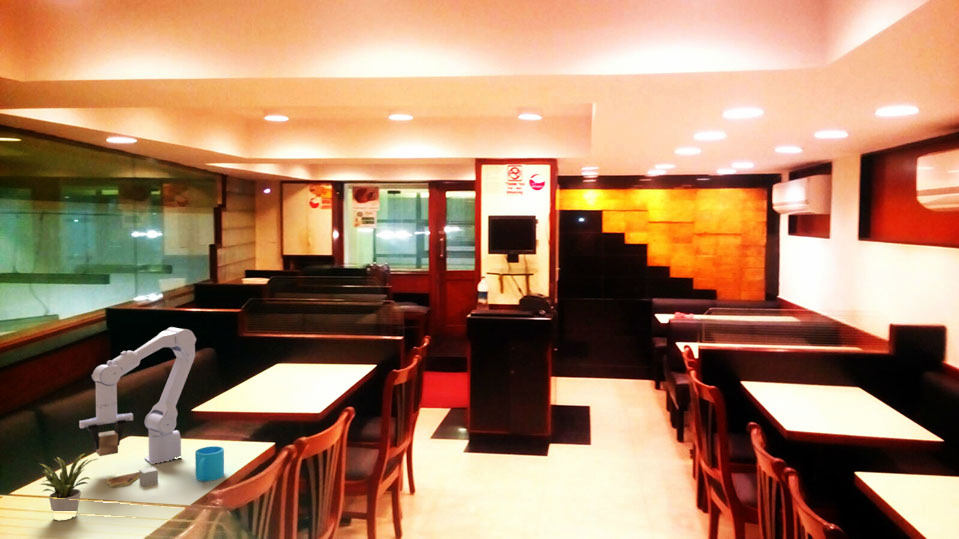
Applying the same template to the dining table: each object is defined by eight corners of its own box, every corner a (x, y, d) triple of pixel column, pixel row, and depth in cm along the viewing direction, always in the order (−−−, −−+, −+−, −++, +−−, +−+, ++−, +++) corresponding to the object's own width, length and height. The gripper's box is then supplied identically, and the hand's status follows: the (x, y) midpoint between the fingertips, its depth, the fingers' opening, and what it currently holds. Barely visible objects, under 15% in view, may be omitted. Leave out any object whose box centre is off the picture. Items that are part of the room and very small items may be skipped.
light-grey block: (153, 479, 200) (153, 466, 200) (157, 483, 197) (157, 470, 197) (139, 482, 197) (139, 469, 197) (143, 486, 194) (143, 473, 194)
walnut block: (113, 449, 208) (113, 430, 208) (118, 453, 204) (118, 434, 204) (96, 452, 205) (96, 433, 204) (99, 456, 201) (99, 436, 201)
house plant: (103, 501, 182) (102, 443, 182) (101, 520, 170) (100, 458, 170) (42, 510, 176) (40, 450, 175) (35, 530, 163) (34, 466, 163)
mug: (202, 471, 207) (201, 446, 207) (227, 471, 207) (227, 446, 207) (185, 485, 195) (185, 458, 195) (213, 485, 195) (212, 458, 195)
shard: (143, 475, 205) (143, 469, 205) (152, 481, 199) (152, 475, 199) (105, 484, 197) (105, 478, 197) (112, 490, 192) (112, 484, 192)
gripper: (82, 409, 196) (83, 454, 196) (135, 402, 206) (136, 444, 206) (77, 405, 201) (78, 449, 202) (129, 398, 211) (130, 439, 211)
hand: (107, 446), depth 204 cm, fingers closed on walnut block, 5 cm apart
